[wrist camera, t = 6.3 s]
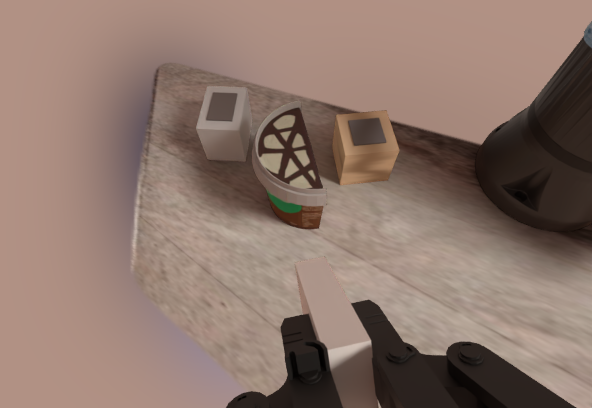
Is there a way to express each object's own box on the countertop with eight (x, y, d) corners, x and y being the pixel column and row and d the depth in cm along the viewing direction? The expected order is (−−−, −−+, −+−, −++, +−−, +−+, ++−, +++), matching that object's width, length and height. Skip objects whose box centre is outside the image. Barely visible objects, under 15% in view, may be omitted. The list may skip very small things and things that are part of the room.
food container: (252, 162, 45) (241, 104, 37) (299, 154, 46) (299, 96, 37) (268, 250, 39) (259, 206, 31) (322, 239, 40) (328, 193, 31)
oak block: (376, 143, 47) (386, 109, 42) (387, 180, 44) (399, 149, 39) (332, 147, 47) (336, 113, 41) (339, 185, 44) (345, 154, 38)
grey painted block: (252, 121, 49) (246, 86, 44) (246, 161, 46) (238, 129, 40) (217, 119, 49) (206, 84, 44) (207, 160, 46) (195, 127, 40)
